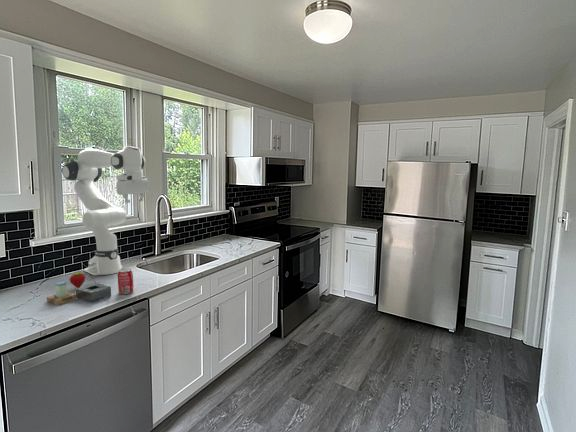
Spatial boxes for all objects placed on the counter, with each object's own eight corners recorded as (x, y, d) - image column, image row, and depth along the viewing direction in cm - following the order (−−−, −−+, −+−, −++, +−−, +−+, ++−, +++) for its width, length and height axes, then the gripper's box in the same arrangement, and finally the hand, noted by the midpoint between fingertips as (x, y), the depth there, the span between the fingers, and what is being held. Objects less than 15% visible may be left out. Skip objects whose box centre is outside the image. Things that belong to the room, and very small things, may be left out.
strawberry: (67, 289, 174) (66, 271, 172) (81, 284, 181) (79, 267, 179) (75, 291, 172) (74, 272, 170) (88, 286, 179) (87, 268, 177)
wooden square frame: (47, 302, 157) (46, 297, 157) (65, 296, 165) (65, 291, 165) (57, 305, 154) (57, 300, 153) (76, 299, 161) (76, 294, 161)
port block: (76, 298, 162) (75, 288, 162) (95, 291, 171) (95, 282, 171) (91, 303, 157) (91, 292, 157) (111, 296, 166) (110, 286, 165)
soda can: (128, 289, 176) (127, 267, 175) (136, 291, 173) (135, 269, 171) (115, 293, 170) (114, 270, 169) (123, 296, 167) (122, 273, 165)
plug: (56, 301, 159) (55, 283, 157) (63, 299, 161) (62, 281, 160) (60, 302, 157) (59, 284, 156) (67, 300, 160) (66, 282, 159)
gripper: (143, 176, 191) (144, 200, 193) (113, 176, 172) (114, 203, 174) (152, 176, 189) (152, 200, 191) (122, 177, 170) (124, 204, 172)
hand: (134, 202), depth 182 cm, fingers open, 8 cm apart
